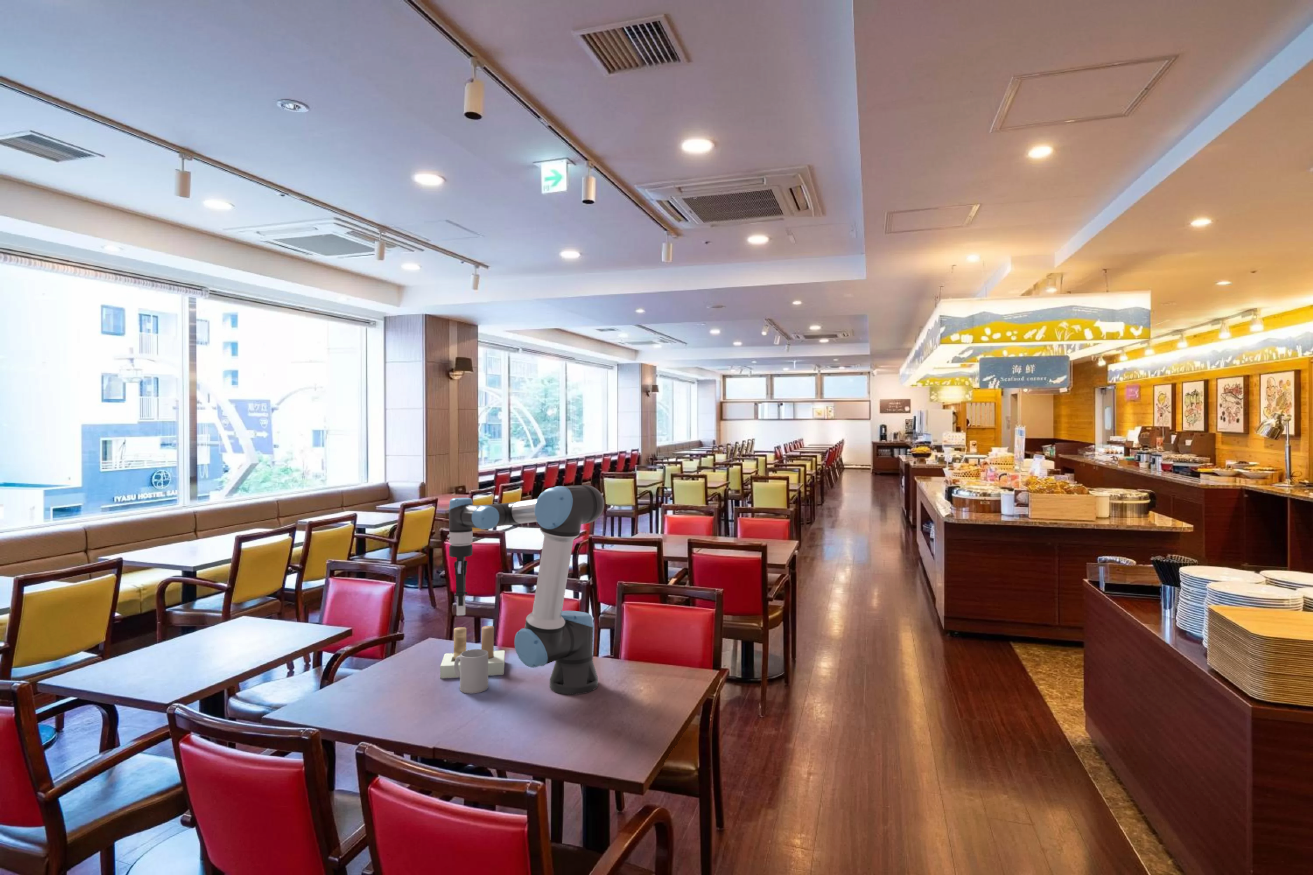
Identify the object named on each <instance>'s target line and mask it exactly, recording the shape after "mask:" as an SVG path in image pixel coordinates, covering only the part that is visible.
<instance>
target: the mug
mask: <svg viewBox="0 0 1313 875" xmlns="http://www.w3.org/2000/svg"><path fill="white" fill-rule="evenodd" d="M459 660H460V671H459V668H458V663H459ZM454 670H455V674H456V675H457V676H458V677H457V678H459V690H460V692H461V693H463V694H479V693H482V692H485V691H486V690H488V688H489V676H488V651H486V650H482V649H481V648H475V649H466V651H464V652H462V653H461V654H460V656H457V657H456V659H455V663H454Z"/></svg>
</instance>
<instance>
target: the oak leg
mask: <svg viewBox="0 0 1313 875" xmlns="http://www.w3.org/2000/svg"><path fill="white" fill-rule="evenodd" d="M464 651H467V627H465V626H463V627H462V626H461V627H459V626H458V627H455V628H454V629H453V653H454V661H455V659H456V657H457V656H460V654H461V653H462V652H464ZM459 661H460V660H459Z"/></svg>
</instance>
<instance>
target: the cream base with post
mask: <svg viewBox="0 0 1313 875" xmlns="http://www.w3.org/2000/svg"><path fill="white" fill-rule="evenodd" d="M494 634H495V627H494V625H484V626H482V627H481V644H480V645H481V647H480V649H482V650H486V651H488V677H489V676H502V675H504V673H505V660H506V659H505V658H506V654H505V653H506V652H505V650H494V648H495V647H494V645H495V644H494V643H495V641H494V640H495V639H494V638H495V636H494ZM454 663H455V661H454V652H453V653H452V652H450V653H448V652H447V653H444V655H443V658H442V660H441V663H440V666H439V668H440V669H439V679H454V678H455V679H456V678H459V677H458V676H457V675H456V674H455V670H454ZM458 668H459V671H460V661H459V663H458Z"/></svg>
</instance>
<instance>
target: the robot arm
mask: <svg viewBox="0 0 1313 875" xmlns="http://www.w3.org/2000/svg"><path fill="white" fill-rule="evenodd" d="M448 504H449V507H448V527H449V528H448V530H449V531H448V532H449V534H447V535H446V536H447V538H449V539H448V540H449V544H450V545H449V546H448V547H449V548H448V551H449V552H448V555H449V557H451V558H456V560H455V561H454V565H453V566H454V575H455V593H454V595H453V597H456V616H457V617H459V616H466V595H468V591H467V588H466V587H467V586H466V585H467V584H466V582H467V579H466V576H467V572H468V571H467V569H468V568H467V566H468V560H466V558H467V557H471V556H472V555H473V544H472V543H473V541H474V538H473V532H474V531H473V529H480V530H492V529H493V528H495V527H501V526H502V527H503V526H513V525H520V524H530V523H537V524H538V525H539V526H540V527H539V528H540V529H539V530H540V532H541V533H542V535H543V542H542V549H541V555H540V560H539V569H538V574H537V580H536V581H537V582H536V586H535V592H534V601H533V605H532V612H530V613H529V614H528V615H526V617H525V624H524V628H523V627H522V628H520V630H518V631H517V632H516V633H515V636H514V643H513V644H514V650H515V652H516V655H517V656H518V659H519V660H520V661H521V663H522V664H524V665H525V666H527V667H529V668H538V667H544V666H546V665H547V664H550V663H553V662H555V663H554V665H553V668H552V672H551V674H550V678H549V688H550V690H551V691H552V692H554V693H558V694H562V695H581V694H586V693H590V692H593V691H594V690H596V689H597V688H598V686H599V677H598V673H597V670H596V667H595V664H594V661H593V658H594V655H593V654H594V650H593V649H594V620H593V616H592V615H591V613H588V612H585V611H584V612H583V611H576V610H563V606H564V601H565V593H566V590H567V589H566V588H567V584H568V583H567V581H568V577H569V575H568V574H569V572H570V571H569V568H570V565H571V557H572V552H573V545H574V540H575V539H576V538H578V537H579V536H580V533H581V528H582V525H586V524H590V523H593V522H595V521H596V520H598V519H599V518H600V517H601V515H602V514H603V511H604V509H605V500H604V497H603V494H602V493H601V491H599V490H598V489H597V488H596V487H594V486H593V485H592V486H591V485H587V484H581V485H566V486H564V485H563V486H562V485H558V486H554V487H549V488H547V489H544V491H542V492H541V493H540V494H539V496H537V498H534V499H527V500H520V501H513V502H504V503H491V504H473V499H472V498H470V497H455V498H454V497H453V498H451V499H450V500H449V503H448Z"/></svg>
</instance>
